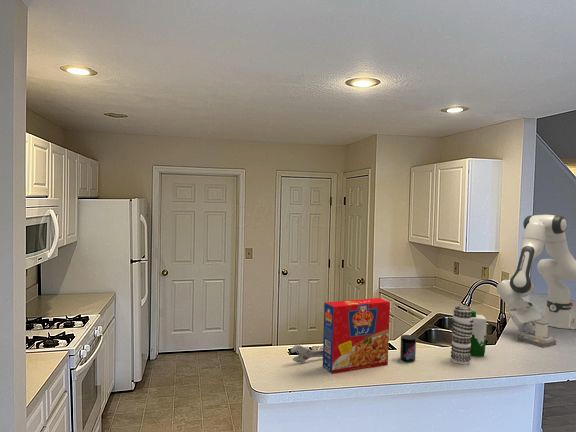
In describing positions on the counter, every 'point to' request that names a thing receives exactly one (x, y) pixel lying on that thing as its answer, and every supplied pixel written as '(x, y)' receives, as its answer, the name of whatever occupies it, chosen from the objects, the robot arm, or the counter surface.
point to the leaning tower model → (461, 334)
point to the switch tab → (541, 329)
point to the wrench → (305, 353)
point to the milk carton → (478, 335)
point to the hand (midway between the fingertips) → (536, 330)
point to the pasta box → (355, 334)
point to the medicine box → (524, 328)
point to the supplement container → (408, 348)
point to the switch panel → (536, 339)
